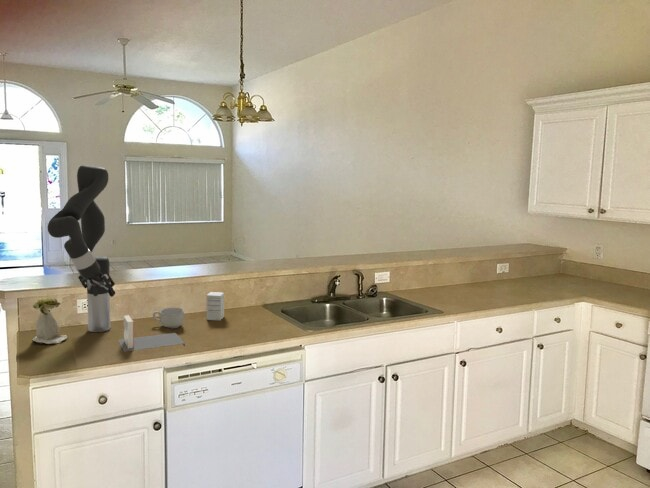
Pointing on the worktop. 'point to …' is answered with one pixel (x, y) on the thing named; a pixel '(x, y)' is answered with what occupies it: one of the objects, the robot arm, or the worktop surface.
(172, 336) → the mat
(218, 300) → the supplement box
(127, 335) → the tile
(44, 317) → the potted leafy plant
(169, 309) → the teacup
